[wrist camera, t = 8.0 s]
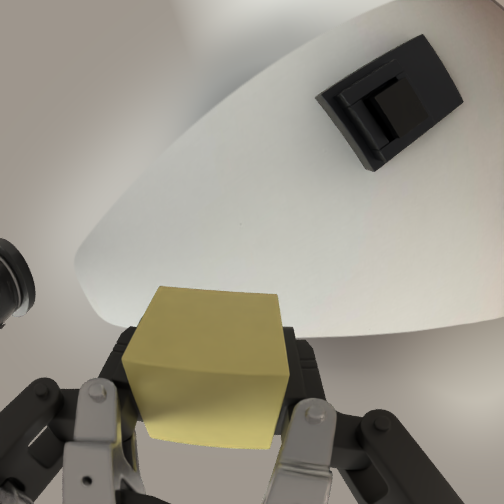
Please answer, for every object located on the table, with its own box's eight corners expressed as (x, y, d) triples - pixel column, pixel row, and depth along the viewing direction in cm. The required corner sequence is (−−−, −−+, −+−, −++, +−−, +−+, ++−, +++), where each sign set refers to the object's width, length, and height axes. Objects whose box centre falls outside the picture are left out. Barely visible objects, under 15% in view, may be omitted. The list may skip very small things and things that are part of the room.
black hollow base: (365, 169, 23) (385, 175, 20) (314, 97, 21) (327, 90, 17) (452, 102, 20) (476, 101, 17) (413, 38, 18) (434, 28, 14)
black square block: (388, 137, 19) (400, 138, 17) (363, 100, 18) (374, 97, 16) (415, 117, 18) (429, 116, 16) (393, 80, 17) (405, 76, 15)
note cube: (169, 367, 12) (149, 438, 8) (159, 285, 10) (120, 358, 6) (265, 374, 12) (270, 449, 8) (277, 293, 10) (290, 374, 6)
